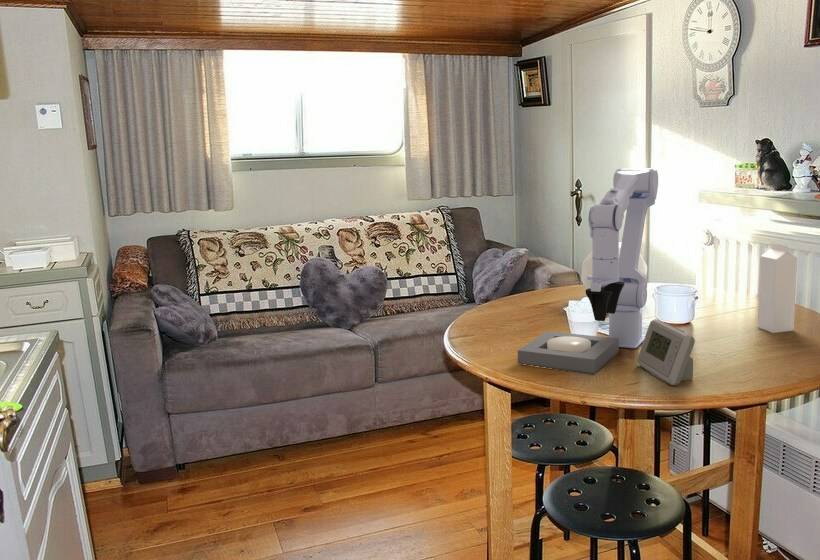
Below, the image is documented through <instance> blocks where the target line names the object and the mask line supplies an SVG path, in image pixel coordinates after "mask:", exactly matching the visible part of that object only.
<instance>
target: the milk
mask: <svg viewBox="0 0 820 560" xmlns="http://www.w3.org/2000/svg"><path fill="white" fill-rule="evenodd" d="M797 271H798V257H797V256H795V255H794V254H792V253H790V252H788V245H785V244H782V243H781V244H780V243H775V242H771V244H770V248H769V249H767V251H766V252H764V253H762V254H761V255H760V261H759V282H758V305H757V307H758V308H757V329H761V330H764V331H766V332H769V333H772V334H777V333H785V332H786V333H787V332H793V331H794V328H795V327H794V325H795V308H796V307H795V306H796V287H797V286H796V285H797Z"/></svg>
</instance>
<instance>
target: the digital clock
mask: <svg viewBox="0 0 820 560" xmlns="http://www.w3.org/2000/svg"><path fill="white" fill-rule="evenodd" d="M644 337H645V338H644V341H643V342H642V343H641V347H640V349H639V353H638V356H637V358H636V363H637V364H638V365H639V366H640V367H642V368H643V369H645V371H646V372H648V373H650V374H651V375H653V376H655V377H656V378H658V379H659V380H661V381H662V382H664V383H668V384H669V385H670V386H677V385H679V384H680V383H681V381H689V380H693V378H694V360H693V358H692V357H691V354H692V352H693V349H694V345H695V341H696V340H695V337H694V336H693V335H690V334H689V333H687V332H685V331H684V330H682V329H680V328H678V327H676V326H674V325H672V324H670V323H667V321H666V322H665V321H664V322H663V321H661V320H660V319H655V318H654V319H652V320H651V321H650V323H649V325H648V327H647V331H646V333H645V336H644Z"/></svg>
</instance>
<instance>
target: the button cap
mask: <svg viewBox="0 0 820 560" xmlns="http://www.w3.org/2000/svg"><path fill="white" fill-rule="evenodd" d="M590 348H591V341H590V340H588V339H585V338H581V337H571V336H565V337H556V338H552V339H550V340H548V341H547V349H551V350H560V351H568V352H577V353H585V352H586V351H588V350H589V349H590Z"/></svg>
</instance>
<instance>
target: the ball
mask: <svg viewBox="0 0 820 560" xmlns="http://www.w3.org/2000/svg"><path fill="white" fill-rule="evenodd" d="M621 243H622V241H619V256H620V249H621ZM637 271H639V272H640V273H641V274H642V275H643V276H644V277H645V278H646V279H647V275H648V265H647V263H646V261H645V259H644V257H643V255H642V254H640V256H639V263H638V269H637ZM588 276H592V250H591V251H590V252H589V253H588V255H587V256H586V257H585V258H584V260H583V261H582V264H581V277H580V281H581V282H582V284H583V285H584V288H585V290H586V289H588V288H589V289H591V282H592V280H587V277H588Z"/></svg>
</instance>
